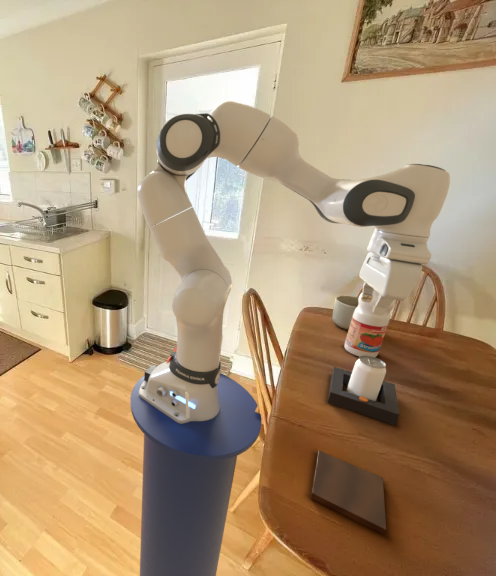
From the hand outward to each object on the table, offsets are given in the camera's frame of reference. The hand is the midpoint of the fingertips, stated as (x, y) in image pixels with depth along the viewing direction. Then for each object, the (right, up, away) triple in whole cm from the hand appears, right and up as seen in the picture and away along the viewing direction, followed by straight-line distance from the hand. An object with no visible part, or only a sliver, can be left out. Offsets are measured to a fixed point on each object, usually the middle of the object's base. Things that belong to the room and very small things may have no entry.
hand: (370, 307), depth 70 cm
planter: (+35, -11, +54) cm, 65 cm away
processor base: (+10, -26, +15) cm, 32 cm away
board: (-12, -36, -9) cm, 39 cm away
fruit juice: (+27, -18, +37) cm, 49 cm away
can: (+10, -26, +16) cm, 32 cm away
